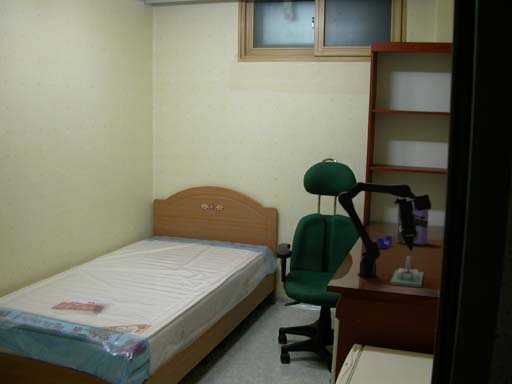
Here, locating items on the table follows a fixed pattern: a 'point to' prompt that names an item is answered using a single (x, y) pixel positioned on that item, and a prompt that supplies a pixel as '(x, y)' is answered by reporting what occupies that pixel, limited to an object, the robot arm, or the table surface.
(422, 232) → the cereal box
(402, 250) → the table surface
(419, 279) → the circuit board
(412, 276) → the heat sink
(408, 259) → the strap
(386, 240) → the cable clip
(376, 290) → the table surface
